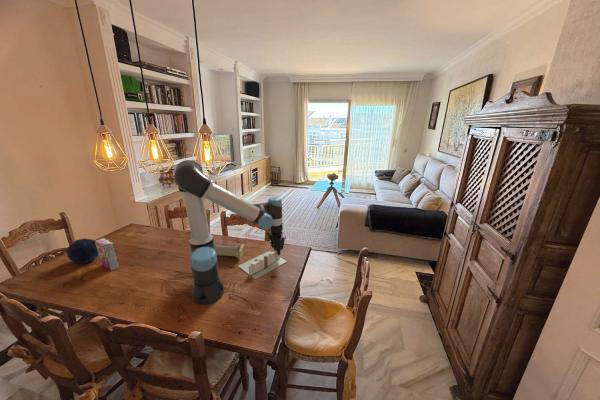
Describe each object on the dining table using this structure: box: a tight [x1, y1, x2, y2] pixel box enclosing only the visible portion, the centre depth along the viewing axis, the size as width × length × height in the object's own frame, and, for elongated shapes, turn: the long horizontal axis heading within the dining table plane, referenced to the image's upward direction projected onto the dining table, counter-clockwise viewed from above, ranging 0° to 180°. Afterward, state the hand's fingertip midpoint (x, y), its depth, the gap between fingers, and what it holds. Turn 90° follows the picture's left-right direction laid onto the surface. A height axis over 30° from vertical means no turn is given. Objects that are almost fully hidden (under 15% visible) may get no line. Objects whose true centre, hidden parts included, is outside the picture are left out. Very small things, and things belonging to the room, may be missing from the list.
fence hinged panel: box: [267, 251, 276, 266], centre depth 144 cm, size 11×1×7 cm, turn 145°
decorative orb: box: [66, 238, 99, 264], centre depth 142 cm, size 14×15×15 cm
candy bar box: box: [94, 237, 121, 272], centre depth 136 cm, size 11×5×16 cm, turn 59°
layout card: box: [237, 250, 288, 280], centre depth 143 cm, size 24×17×1 cm
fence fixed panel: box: [249, 256, 267, 276], centre depth 135 cm, size 12×2×7 cm, turn 136°
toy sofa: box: [214, 242, 245, 261], centre depth 150 cm, size 21×9×10 cm, turn 86°
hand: (277, 258), depth 144 cm, fingers closed
